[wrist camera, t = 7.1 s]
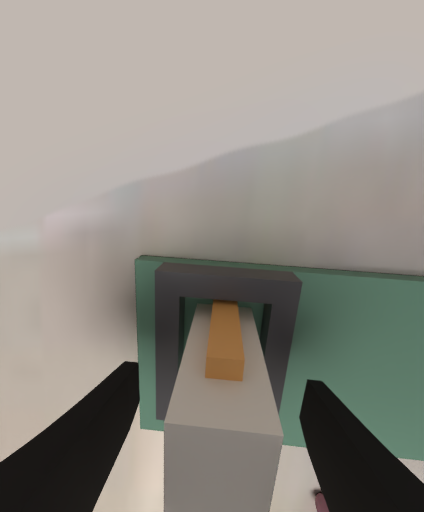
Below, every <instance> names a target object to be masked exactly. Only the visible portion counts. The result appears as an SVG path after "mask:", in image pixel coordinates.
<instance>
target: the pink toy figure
mask: <svg viewBox="0 0 424 512" xmlns="http://www.w3.org/2000/svg"><path fill="white" fill-rule="evenodd" d="M315 503H316V509H317V512H329V510H328V507H327V504H326V501H325V499H324V496H323V494H322V493H318V494H317V495H316V498H315Z"/></svg>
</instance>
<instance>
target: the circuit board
mask: <svg viewBox="0 0 424 512" xmlns="http://www.w3.org/2000/svg"><path fill="white" fill-rule="evenodd" d="M163 262H170V263H183V264H197V265H210V266H223V267H236V268H249V269H263V270H276V271H289V272H293V273H294V274H295V275H296V276H297V277H298V278H299V279H300V280H301V281H302V282H303V283H302V289H301V294H300V300H299V305H298V311H297V316H296V322H295V328H294V333H293V339H292V344H291V350H290V355H289V361H288V367H287V372H286V378H285V383H284V389H283V394H282V400H281V405H280V411H279V419H280V423H281V427H282V431H283V434H284V438H283V443H282V445H289V446H298V447H306V443H305V439H304V436H303V432H302V427H301V423H300V419H299V415H300V411H301V406H302V401H303V396H304V392H305V387H306V382H307V379H309V380H319V381H323V382H324V383H325V384H326V385H327V386H328V387H329V388H330V390H331V391H332V392H333V393H334V394H335V395H336V396H337V397H338V398H339V399H340V400H341V401H342V402H343V403H344V404H345V406H346V407H347V408H348V409H349V410H350V411H351V412H352V413H353V414H354V415H355V416H356V417H357V418H358V419H359V420H360V421H361V422H362V423H363V424H364V426H365V427H366V428H367V429H368V430H369V431H370V432H371V433H372V434H373V435H374V436H375V437H376V438H377V439H378V440H379V441H380V442H381V443H382V444H383V445H384V446H385V447H386V448H387V449H388V450H389V451H390V452H391V453H392V454H393V455H394V456H395V457H396V458H404V459H413V460H421V461H424V276H412V275H398V274H385V273H371V272H358V271H344V270H331V269H318V268H304V267H291V266H277V265H264V264H250V263H237V262H224V261H210V260H197V259H183V258H170V257H157V256H143V255H142V256H140V257H139V258H137V259H135V283H136V312H137V342H138V363H139V390H140V401H139V402H140V429H148V430H157V431H164V420H156V370H155V270H156V269H157V268H158V267H159V266H160V265H161V264H162V263H163ZM197 303H199V304H211V305H213V299H204V298H192V297H185V313H184V346H183V353H184V350H185V346H186V342H187V339H188V335H189V332H190V328H191V325H192V321H193V317H194V314H195V310H196V307H197ZM237 303H238V307H247V308H251V309H252V313H253V317H254V321H255V325H256V328H257V332H258V336H259V340H260V333H261V325H262V318H263V311H264V303H252V302H240V301H237Z"/></svg>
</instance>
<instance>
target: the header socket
mask: <svg viewBox="0 0 424 512" xmlns="http://www.w3.org/2000/svg"><path fill="white" fill-rule="evenodd" d="M302 283H303V282H302V281H301V280H300V279H299V278H298V277H297V276H296V275H295V274H294V273H293V272H289V271H276V270H263V269H249V268H236V267H223V266H210V265H197V264H183V263H170V262H163V263H162V264H161V265H160V266H159V267H158V268H157V269H156V270H155V370H156V420H164V421H165V417H166V414H167V410H168V407H169V403H170V400H171V396H172V392H173V389H174V385H175V382H176V378H177V375H178V371H179V367H180V364H181V360H182V357H183V346H184V313H185V297H192V298H204V299H216V300H228V301H240V302H252V303H264V311H263V318H262V325H261V333H260V344H261V348H262V352H263V356H264V360H265V364H266V368H267V372H268V376H269V380H270V383H271V387H272V391H273V395H274V399H275V403H276V407H277V411H278V415H279V411H280V405H281V400H282V394H283V389H284V383H285V378H286V372H287V367H288V361H289V355H290V350H291V344H292V339H293V333H294V328H295V322H296V316H297V311H298V305H299V300H300V294H301V289H302Z"/></svg>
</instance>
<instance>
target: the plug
mask: <svg viewBox="0 0 424 512" xmlns="http://www.w3.org/2000/svg"><path fill="white" fill-rule="evenodd" d="M283 438H284V434H283V431H282V427H281V423H280V419H279V415H278V411H277V407H276V403H275V399H274V395H273V391H272V387H271V383H270V380H269V376H268V372H267V368H266V364H265V360H264V356H263V352H262V348H261V344H260V340H259V336H258V332H257V328H256V325H255V321H254V317H253V313H252V309H251V308H247V307H238V303H237V301H228V300H216V299H213V305H211V304H199V303H197V307H196V310H195V314H194V317H193V321H192V325H191V328H190V332H189V335H188V339H187V342H186V346H185V350H184V353H183V357H182V360H181V364H180V367H179V371H178V375H177V378H176V382H175V385H174V389H173V392H172V396H171V400H170V403H169V407H168V410H167V414H166V417H165V421H164V512H269V511H270V506H271V500H272V495H273V490H274V485H275V480H276V474H277V469H278V464H279V459H280V454H281V448H282V443H283Z"/></svg>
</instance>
